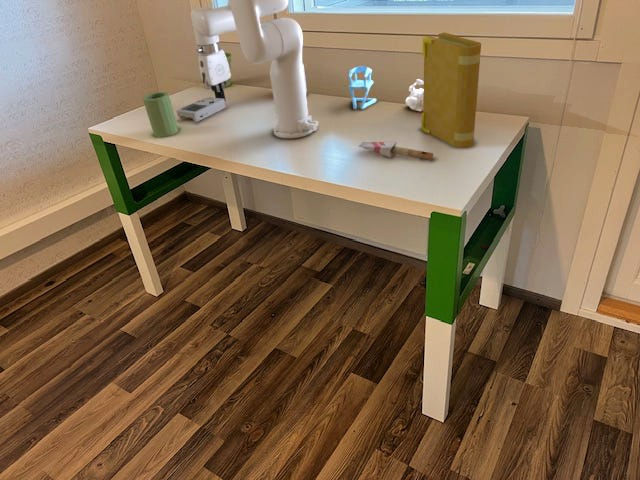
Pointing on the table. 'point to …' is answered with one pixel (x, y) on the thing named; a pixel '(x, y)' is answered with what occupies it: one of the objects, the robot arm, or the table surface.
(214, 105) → the handheld gaming device
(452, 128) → the book
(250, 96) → the table surface
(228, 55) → the plant pot
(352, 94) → the chair
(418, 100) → the rabbit figurine
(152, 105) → the cylindrical cup
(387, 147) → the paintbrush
